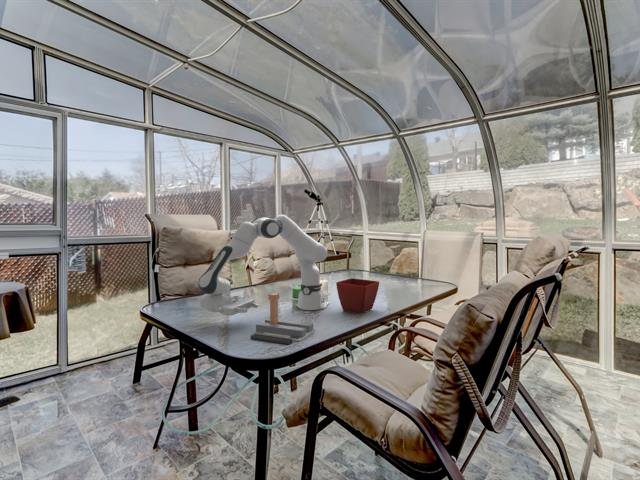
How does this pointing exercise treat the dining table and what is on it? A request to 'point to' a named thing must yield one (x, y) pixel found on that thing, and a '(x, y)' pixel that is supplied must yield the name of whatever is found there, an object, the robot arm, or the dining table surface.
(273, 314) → the breaker handle
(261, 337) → the twin grey rods
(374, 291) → the plant pot
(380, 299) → the dining table surface
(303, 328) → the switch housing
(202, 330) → the dining table surface
